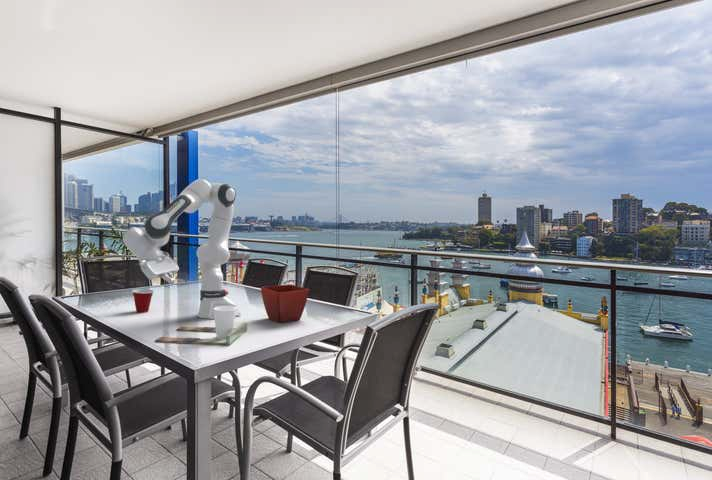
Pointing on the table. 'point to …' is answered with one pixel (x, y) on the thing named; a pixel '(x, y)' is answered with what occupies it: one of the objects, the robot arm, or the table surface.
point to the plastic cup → (142, 299)
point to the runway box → (228, 341)
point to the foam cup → (224, 320)
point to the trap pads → (198, 338)
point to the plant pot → (284, 302)
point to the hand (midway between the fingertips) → (172, 282)
